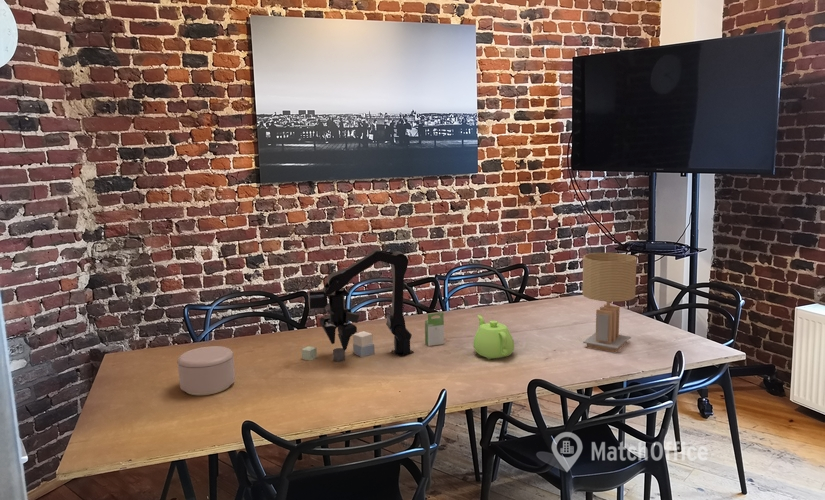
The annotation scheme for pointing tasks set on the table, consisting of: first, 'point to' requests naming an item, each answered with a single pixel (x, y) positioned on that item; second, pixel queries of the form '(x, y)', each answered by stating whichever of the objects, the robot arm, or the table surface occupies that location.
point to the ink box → (434, 330)
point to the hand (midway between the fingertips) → (339, 346)
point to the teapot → (493, 340)
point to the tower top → (362, 339)
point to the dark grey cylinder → (339, 355)
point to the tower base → (363, 350)
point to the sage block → (309, 353)
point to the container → (206, 370)
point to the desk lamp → (608, 295)
